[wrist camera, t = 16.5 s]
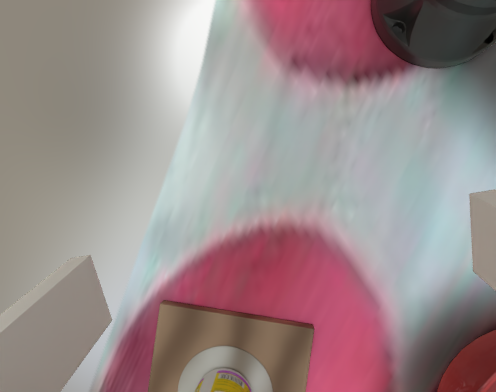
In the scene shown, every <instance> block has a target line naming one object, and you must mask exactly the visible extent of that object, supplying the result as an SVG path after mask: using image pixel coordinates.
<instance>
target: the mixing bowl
mask: <svg viewBox="0 0 496 392" xmlns="http://www.w3.org/2000/svg"><path fill="white" fill-rule="evenodd" d="M437 392H496V330H494V331H492V332H489V333H487V334H484V335H483V336H481V337H479V338H477V339H476V340H474V341H473V342H471V343H470V344H469V345H467V346H466V347H465V348H463V349H462V350H461V351H460V352H459V354H458V355H457V356H456V357H455V358H454V359H453V360H452V362H451V363H450V364H449V366H448V368H447V369H446V371H445V373H444V375H443V376H442V379H441V381H440V384H439V387H438V390H437Z"/></svg>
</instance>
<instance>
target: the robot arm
mask: <svg viewBox="0 0 496 392" xmlns="http://www.w3.org/2000/svg"><path fill="white" fill-rule="evenodd" d="M371 11H372V18H373V22H374V25H375V28H376V30H377V32H378V34H379V36H380V38H381V39H382V41H383V42H384V43H385V44H386V46H387V47H388V48H389V49H390V50H391V51H392V52H394V53H395V54H396V55H397V56H399V57H400V58H402V59H404V60H406V61H408V62H410V63H413V64H415V65H419V66H423V67H430V68H444V67H450V66H455V65H458V64H461V63H464V62H466V61H468V60H470V59H472V58H474V57H475V56H477V55H478V54H480V53H481V52H482V51H484V50H485V49H487V48H488V47H489V46H491V45H492V44H493V43H494V42H495V41H496V0H371ZM470 216H471V237H472V259H473V271H474V272H475V273H476V274H477V275H478V276H479V277H480V278H481V279H483V280H484V281H485V282H486V283H487V284H488V285H489V286H490V287H491V288H493V289H494V290H495V291H496V190H489V191H483V192H477V193H471V194H470ZM111 321H112V318H111V315H110V312H109V309H108V306H107V303H106V300H105V297H104V295H103V291H102V288H101V285H100V282H99V279H98V276H97V273H96V270H95V267H94V264H93V261H92V258H91V256H90V255H87V256H81V257H74V258H71V259H70V260H68V261H67V262H66V263H64V264H63V265H62V266H61V267H59V268H58V269H57V270H56V271H54V272H53V273H52V274H51V275H49V276H48V277H47V278H46V279H44V280H43V281H42V282H41V283H39V284H38V285H37V286H36V287H34V288H33V289H32V290H31V291H29V292H28V293H27V294H25V295H24V296H23V297H22V298H21V299H19V300H18V301H17V302H15V303H14V304H13V305H12V306H10V307H9V308H8V309H7V310H6V311H4V312H3V313H2V314H1V315H0V392H60V391H61V390H62V389H63V387H64V386H65V384H66V383H67V382H68V380H69V379H70V378H71V376H72V375H73V374H74V372H75V371H76V369H77V368H78V367H79V365H80V364H81V362H82V361H83V360H84V358H85V357H86V356H87V354H88V353H89V352H90V350H91V349H92V347H93V346H94V344H95V343H96V342H97V341H98V339H99V338H100V336H101V335H102V334H103V332H104V331H105V329H106V328H107V327H108V325H109V324H110V323H111Z"/></svg>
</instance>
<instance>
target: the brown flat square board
mask: <svg viewBox="0 0 496 392" xmlns="http://www.w3.org/2000/svg"><path fill="white" fill-rule="evenodd" d="M313 334H314V327H313V325H312V324H306V323H300V322H294V321H288V320H282V319H276V318H269V317H263V316H257V315H251V314H245V313H239V312H233V311H227V310H221V309H214V308H208V307H202V306H196V305H190V304H184V303H178V302H172V301H165V300H164V301H163V302H162V303H161V304H160V309H159V316H158V323H157V330H156V337H155V345H154V352H153V359H152V366H151V373H150V380H149V388H148V392H195V390H196V388H197V385H198V383H199V382H200V380H201V379H202V378H203V377H204V376H205V375H206V374H207V373H209V372H210V371H213V370H215V369H221V368H226V369H231V370H234V371H236V372H238V373H240V374H241V375H242V376H243V377H244V378H245V379H246V380H247V381H248V383H249V385H250V387H251V390H252V392H305V391H306V384H307V377H308V370H309V363H310V356H311V348H312V341H313Z"/></svg>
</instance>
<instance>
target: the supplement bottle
mask: <svg viewBox="0 0 496 392" xmlns="http://www.w3.org/2000/svg"><path fill="white" fill-rule="evenodd" d="M195 392H252V390H251V387H250V385H249V383H248V381H247V380H246V379H245V378H244V377H243V376H242V375H241V374H240V373H238V372H236V371H234V370H231V369H226V368H221V369H215V370H213V371H210V372H209V373H207V374H206V375H205V376H204V377H203V378H202V379H201V380H200V382H199V383H198V385H197V388H196V390H195Z"/></svg>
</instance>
